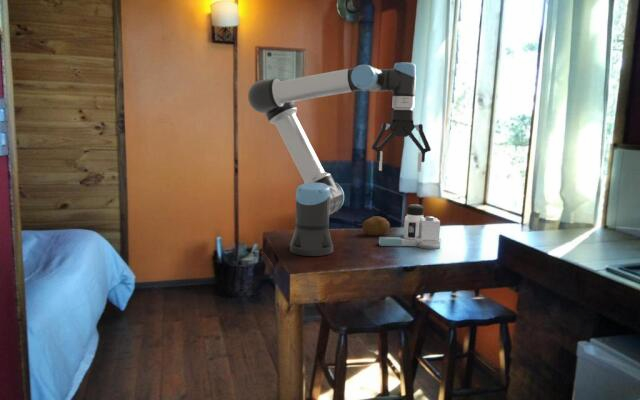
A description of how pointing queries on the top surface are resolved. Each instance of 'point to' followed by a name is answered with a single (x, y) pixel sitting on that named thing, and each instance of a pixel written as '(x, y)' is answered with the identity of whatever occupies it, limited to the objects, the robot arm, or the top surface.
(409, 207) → the container
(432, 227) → the cube with chrome knob
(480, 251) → the top surface
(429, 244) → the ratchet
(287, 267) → the top surface
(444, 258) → the top surface
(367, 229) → the potato
